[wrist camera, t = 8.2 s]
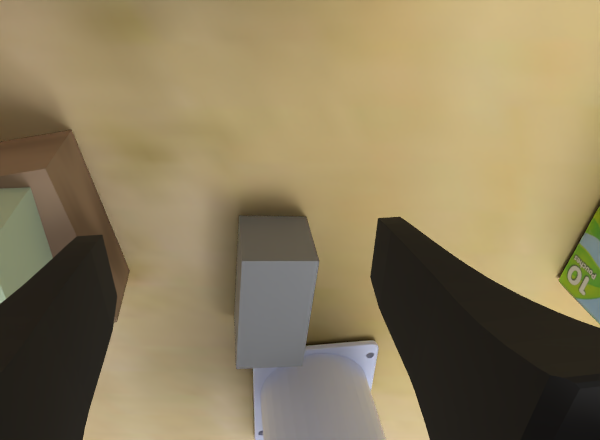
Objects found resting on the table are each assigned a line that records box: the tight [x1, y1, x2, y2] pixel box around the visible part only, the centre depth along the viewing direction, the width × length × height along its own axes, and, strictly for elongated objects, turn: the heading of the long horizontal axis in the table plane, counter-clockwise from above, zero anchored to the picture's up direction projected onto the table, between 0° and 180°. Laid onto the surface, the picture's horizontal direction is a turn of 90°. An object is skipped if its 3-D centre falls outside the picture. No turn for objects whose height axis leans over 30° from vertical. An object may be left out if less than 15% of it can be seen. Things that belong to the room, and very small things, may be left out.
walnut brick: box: [0, 130, 130, 322], centre depth 21 cm, size 8×6×4 cm
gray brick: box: [234, 215, 319, 369], centre depth 25 cm, size 7×4×4 cm, turn 174°
